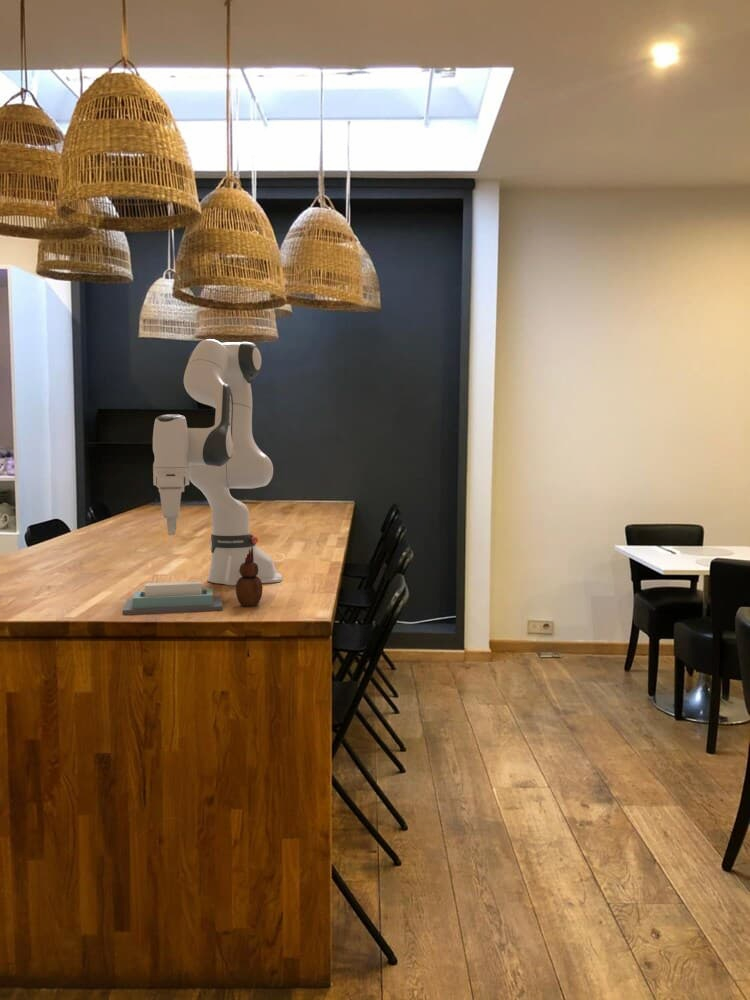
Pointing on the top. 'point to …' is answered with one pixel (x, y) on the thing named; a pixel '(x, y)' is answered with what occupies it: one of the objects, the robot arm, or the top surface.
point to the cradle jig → (172, 603)
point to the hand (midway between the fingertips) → (172, 532)
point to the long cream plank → (173, 588)
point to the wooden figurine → (249, 583)
